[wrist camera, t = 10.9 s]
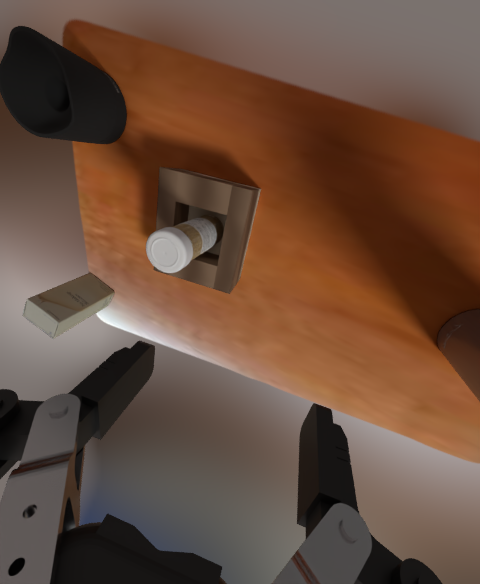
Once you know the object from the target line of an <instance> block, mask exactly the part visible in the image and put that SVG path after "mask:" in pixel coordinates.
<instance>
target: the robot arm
mask: <svg viewBox="0 0 480 584" xmlns="http://www.w3.org/2000/svg"><path fill="white" fill-rule="evenodd" d="M437 341H438V347H439V349H440V351H441V352H442V353H443V355H444V356H445V357H446V359H447V360H448V361H449V363H450V364H451V365H452V366H453V368H454V369H455V371H456V372H457V373H458V374H459V376H460V377H461V378H462V379H463V381H464V382H465V383H466V385H467V386H468V387H469V388H470V390H471V391H472V392H473V394H474V395H475V396H476V397H477V399H478V400H479V401H480V309H476V310H471V311H467V312H464V313H461V314H459V315H457V316H455V317H453V318H452V319H450V320H449V321H448V322H446V324H445V325H444V326H443V327H442V328H441V330H440V332H439V334H438V338H437ZM154 355H155V346H153V345H151V344H148V343H145V342H142V341H138V342H137V343H136V344H135V345H134V346H133V347H132V348H131V349H129V348H126V347H125V348H123V349H121V350H119V351H116V352H114V354H112V355H111V356H110V357H109V358H108V359H107V360H106V361H104V362H103V363H102V364H101V365H100V366H99V368H96V369H95V371H93V372H92V373H91V374H90V375H89V376H87V377H86V378H85V379H84V380H83V381H82V382H81V383H80V384H79V385H78V386H76V387H75V388H74V389H73V390H72V391H71V392H69V393H68V394H60V395H56V396H54V397H51V398H49V399H48V400H46V401H23V400H18V396H17V394H16V393H15V392H14V391H12V390H7V389H1V390H0V479H1V478H2V477H3V476H4V475H5V474H6V473H7V472H8V471H9V469H10V468H11V467H12V466H13V465H14V464H15V463H16V462H17V461H18V460H19V461H21V463H20V465H19V467H18V468H17V469H14V470H13V471H12V472H11V474H10V476H9V478H8V481H7V484H6V487H5V490H4V493H3V496H2V500H1V502H0V584H226V583H225V581H224V580H223V579H222V578H221V577H220V575H221V570H222V567H221V566H219V565H217V564H215V563H213V562H211V561H208V560H206V559H204V558H202V557H200V556H198V555H196V554H194V553H184V552H169V551H160V550H158V549H156V548H155V547H154V546H153V545H152V544H151V543H150V542H149V541H148V540H147V539H146V538H145V537H144V536H143V534H142V533H141V532H140V531H139V530H138V529H136V527H135V526H133V525H131V524H129V523H127V522H124V521H122V520H120V519H118V518H116V517H114V516H112V515H109V514H107V515H106V517H105V518H104V520H103V522H102V523H100V522H97V523H89V524H85V525H81V526H79V521H80V493H81V484H82V474H83V465H84V456H85V445H86V443H87V442H88V441H89V440H90V438H91V437H92V436H93V437H95V438H98V439H100V440H101V439H102V438H103V436H104V435H105V434H106V432H107V431H108V430H109V429H110V427H111V426H112V425H113V424H114V422H115V421H116V420H117V419H118V417H119V416H120V415H121V414H122V412H123V411H124V410H125V409H126V407H127V406H128V405H129V404H130V402H131V401H132V400H133V399H134V397H135V396H136V395H137V394H138V392H139V391H140V390H141V389H142V387H143V386H144V385H145V383H146V382H147V381H148V380H149V378H150V376H151V374H152V372H153V368H154ZM298 477H299V478H298V508H297V509H298V510H297V524H299V525H301V526H303V527H306V540H305V541H304V543H303V544H302V545H301V546H300V548H299V549H298V550H297V551H296V553H295V554H294V555H293V557H292V558H291V559H290V561H289V562H288V563H287V564H286V566H285V567H284V568H283V570H282V571H281V572H280V574H279V575H278V576H277V577H276V579H275V580H274V581H273V583H272V584H442V583H441V581H440V580H439V579H438V577H437V576H436V575H435V574H434V573H433V571H432V570H430V568H428V567H427V566H426V565H425V564H423V563H422V562H420V561H418V560H416V559H412V558H409V559H406V560H404V561H402V560H400V559H399V558H398V557H396V556H395V555H394V554H393V553H392V552H390V551H389V550H388V549H387V548H385V547H384V546H383V545H382V544H380V543H379V542H378V541H377V540H376V539H375V538H374V537H373V536H372V535H371V533H370V532H369V529H368V527H367V525H366V523H365V521H364V520H363V518H362V517H361V516H360V514H359V511H358V507H357V501H356V495H355V488H354V481H353V475H352V468H351V465H350V455H349V448H348V442H347V438H346V436H345V434H344V432H343V430H342V428H341V426H339V425H337V424H334V423H333V417H332V411H331V409H329V408H326V407H323V406H321V405H318V404H315V403H314V404H313V405H312V407H311V409H310V411H309V413H308V415H307V417H306V418H305V420H304V422H303V425H302V428H301V432H300V443H299V476H298Z"/></svg>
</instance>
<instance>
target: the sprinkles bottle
mask: <svg viewBox="0 0 480 584" xmlns="http://www.w3.org/2000/svg"><path fill="white" fill-rule="evenodd" d="M223 233H224V228H223V225H222V222H221V221H220V220H219V219H218V218H217V217H215V216H213V215H203V216H201V217H200V218H195V219H192V220H189V221H186V222H184V223H181V224H178V225H176V226H174V227H166V228H163V229H160V230H158V231H155V232H154V233H152V234H151V235H150V236H149V238H148V240H147V243H146V252H147V256H148V258H149V260H150V262H151V263H152V264H153V265H154V266H155V267H156V268H157V269H158V270H160V271H162V272H165V273H175V272H178V271H180V270H181V269H183V268H184V267H186V266H187V265H188V264H189V263H190V261H191V260H193V259H194V258H196V257H197V256H199V255H200V254H202V253H204V252H205V251H207V250H208V249H210V248H211V247H212V246H213V245H215V244H217V243H219V242H220V241H221V239H222V237H223Z"/></svg>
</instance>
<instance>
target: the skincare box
mask: <svg viewBox="0 0 480 584" xmlns="http://www.w3.org/2000/svg"><path fill="white" fill-rule="evenodd" d="M114 293H115V292H114V291H113V290H112V289H110V288H109V287H108V286H107V285H105V284H104V283H103V282H102V281H100V280H99V279H98V278H97V277H95V276H94V275H93V274H91V273H88V274H86V275H84V276H81V277H79V278H76V279H74V280H72V281H69V282H67V283H64V284H62V285H60V286H57V287H55V288H52V289H50V290H47V291H45V292H43V293H41V294H38V295H35V296H33V297H31V298H28V299H27V301H26V304H25V308H24V311H23V317H25V318H26V319H27V320H29V321H30V322H31V323H33V324H34V325H35V326H36V327H38V328H39V329H40V330H42V331H43V332H45V333H46V334H47V335H49V336H50V337H52V338H53V339H54V338H56V337H57V336H59V335H61V334H62V333H64V332H65V331H67V330H69V329H71V328H72V327H74V326H76V325H77V324H79V323H80V322H82V321H84V320H85V319H87V318H89V317H90V316H92V315H93V314H95V313H97V312H98V311H100V310H102V309H103V308H105V307H107V306H108V305H109V303H110V301H111V299H112V297H113V295H114Z"/></svg>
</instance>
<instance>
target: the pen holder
mask: <svg viewBox="0 0 480 584" xmlns="http://www.w3.org/2000/svg"><path fill="white" fill-rule="evenodd" d="M0 92H1V95H2V98H3V99H4V102H5V104H6V106H7V107H8V109H9V111H10V113H11V114H12V116H13V117H14V118H15V119H16V121H17V122H18V123H19V124H20V125H21V126H22V127H23V128H25V129H26V130H27V131H29V132H30V133H32V134H34V135H36V136H39V137H45V138H52V139H61V140H70V141H78V142H86V143H96V144H110V143H113V142H115V141H116V140H117V139H118V138H119V137H120V136H121V135H122V133H123V131H124V128H125V125H126V117H127V113H126V105H125V101H124V97H123V95H122V92H121V90H120V89H119V87H118V85H117V84H116V82H115V81H114V80H113V79H112V78H111V77H110V76H109V75H108V74H106V73H105V72H103V71H102V70H100V69H98V68H97V67H95V66H94V65H92V64H91V63H89V62H87V61H86V60H84V59H82V58H81V57H79V56H77V55H76V54H74V53H72V52H71V51H69V50H67V49H66V48H64V47H62V46H61V45H59V44H57V43H55V42H54V41H52V40H50V39H48V38H47V37H45V36H44V35H42V34H40V33H39V32H37V31H35V30H33V29H31V28H29V27H25V26H18V27H15V28H14V29H12V31H11V33H10V37H9V43H8V47H7V51H6V53H5V55H4V57H3V59H2V61H1V64H0Z"/></svg>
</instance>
